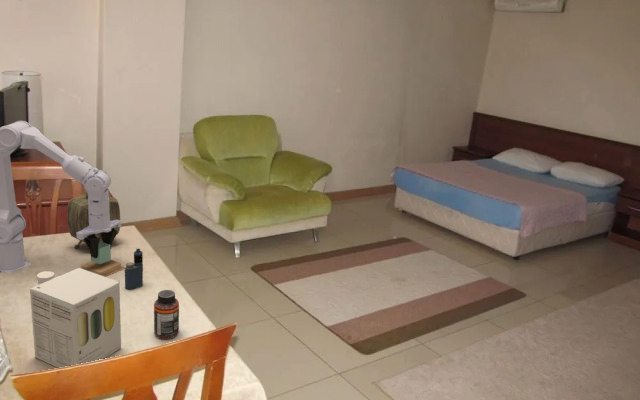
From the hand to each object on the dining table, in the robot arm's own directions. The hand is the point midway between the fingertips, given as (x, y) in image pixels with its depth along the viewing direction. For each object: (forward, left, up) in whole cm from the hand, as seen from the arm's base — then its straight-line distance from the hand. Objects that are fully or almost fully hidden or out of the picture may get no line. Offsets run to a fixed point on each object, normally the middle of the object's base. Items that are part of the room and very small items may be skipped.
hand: (100, 254), depth 159 cm
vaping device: (+16, -2, -6) cm, 17 cm away
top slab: (0, 0, -5) cm, 5 cm away
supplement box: (+30, -32, -6) cm, 44 cm away
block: (0, 0, -2) cm, 2 cm away
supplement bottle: (+40, -14, -6) cm, 43 cm away
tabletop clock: (-15, +11, -6) cm, 19 cm away
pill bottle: (+7, -23, -6) cm, 25 cm away
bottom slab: (0, 0, -6) cm, 6 cm away
